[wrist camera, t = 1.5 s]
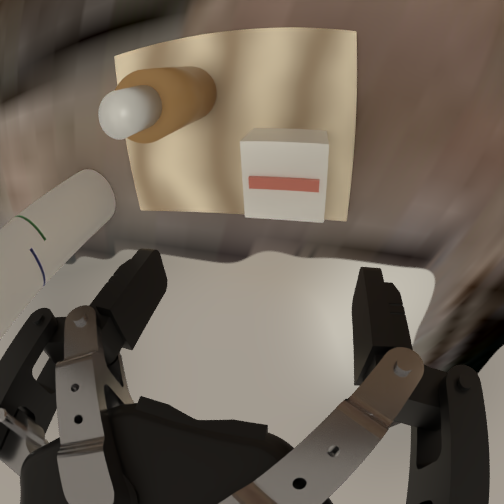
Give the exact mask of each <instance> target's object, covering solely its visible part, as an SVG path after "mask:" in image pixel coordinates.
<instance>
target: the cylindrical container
mask: <svg viewBox="0 0 504 504" xmlns="http://www.w3.org/2000/svg"><path fill="white" fill-rule="evenodd" d="M115 208H116V201H115V196H114V193H113V190H112V188H111V186H110V184H109V183H108V181H107V180H106V179H105V178H104V177H103V176H102V175H101V174H100V173H98V172H96V171H95V170H91V169H84V170H81V171H80V172H78V173H76V174H75V175H73V176H72V177H70V178H68V179H67V180H65V181H64V182H62V183H61V184H59V185H58V186H56V187H55V188H53V189H52V190H50V191H49V192H48V193H46V194H45V195H43V196H42V197H41V198H39V199H38V200H36V201H35V202H34V203H32V204H31V205H30V206H28V207H27V208H26V209H24V210H23V211H22V212H20V213H19V214H18V215H17V216H15V217H14V218H13V219H12V220H10V221H9V222H8V223H7V224H6V225H4V226H3V227H2V228H1V229H0V340H1V338H2V337H3V336H4V334H5V333H6V332H7V330H8V329H9V328H10V326H11V325H12V324H13V323H14V321H15V320H16V319H17V317H18V316H19V315H20V314H21V312H22V311H23V310H24V309H25V307H26V306H27V305H28V304H29V303H30V302H31V300H32V299H33V298H34V297H35V296H36V295H37V293H38V292H39V291H40V290H41V289H42V287H43V286H44V285H45V284H46V283H47V282H48V281H49V280H50V279H51V278H52V276H53V275H54V274H55V273H56V272H57V271H58V270H59V269H60V268H61V267H62V266H63V265H64V264H65V263H66V261H67V260H68V259H69V258H70V257H71V256H72V255H73V254H74V253H75V252H76V251H77V250H78V249H79V248H80V247H81V246H82V245H83V244H84V243H85V242H86V241H87V240H88V239H89V238H90V237H91V236H92V235H94V234H95V233H96V232H97V231H98V230H99V229H100V228H101V227H102V226H103V225H104V224H105V223H106V222H107V221H109V220H110V219H111V217H112V216H113V214H114V212H115Z"/></svg>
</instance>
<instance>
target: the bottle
mask: <svg viewBox="0 0 504 504" xmlns="http://www.w3.org/2000/svg"><path fill="white" fill-rule="evenodd" d="M216 97H217V90H216V85H215V82H214V80H213V79H212V77H211V76H210V75H209V74H208V73H207V72H206V71H204V70H203V69H201V68H198V67H193V66H185V67H165V68H152V69H142V70H137V71H134V72H132V73H130V74H128V75H127V76H125V77H124V78H123V79H122V80H121V81H120V83H119V84H118V86H117V87H116V89H115V91H112V92H110V93H109V94H107V95H106V96H105V97H104V98H103V100H102V102H101V104H100V107H99V122H100V125H101V127H102V129H103V130H104V132H105V133H106V134H107V135H108V136H110V137H111V138H114V139H125V138H128V139H130V140H131V141H134V142H137V143H143V144H146V143H152V142H155V141H158V140H160V139H161V138H163V137H165V136H167V135H169V134H171V133H173V132H175V131H177V130H179V129H181V128H183V127H185V126H187V125H189V124H191V123H193V122H195V121H197V120H199V119H201V118H203V117H205V116H206V115H207V114H208V113H209V112H210V111H211V110H212V108H213V106H214V104H215V102H216Z"/></svg>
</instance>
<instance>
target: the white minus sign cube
mask: <svg viewBox="0 0 504 504" xmlns="http://www.w3.org/2000/svg"><path fill="white" fill-rule="evenodd" d="M240 152H241V167H242V182H243V197H244V212H245V217H246V218H262V219H277V220H292V221H305V222H318V223H324V214H325V202H326V189H327V173H328V155H329V142H328V136H327V131H325V130H310V129H286V128H254V129H252V130H251V131H250V132H249V133H248V134H247V135H246V136H245V137H244V138H243V139H242V140H241V141H240Z"/></svg>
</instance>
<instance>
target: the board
mask: <svg viewBox="0 0 504 504" xmlns="http://www.w3.org/2000/svg"><path fill="white" fill-rule="evenodd" d="M114 57H115V67H116V77H117V85H118V84H119V83H120V81H121V80H122V79H123V78H124V77H125V76H127V75H128V74H130V73H132V72H134V71H137V70H142V69H152V68H165V67H185V66H193V67H198V68H201V69H203V70H204V71H206V72H207V73H208V74H209V75H210V76H211V77H212V79H213V80H214V82H215V85H216V90H217V97H216V102H215V104H214V106H213V108H212V110H211V111H210V112H209V113H208V114H207V115H206V116H205V117H203V118H201V119H199V120H197V121H195V122H193V123H191V124H189V125H187V126H185V127H183V128H181V129H179V130H177V131H175V132H173V133H171V134H169V135H167V136H165V137H163V138H161V139H160V140H158V141H155V142H152V143H146V144H143V143H137V142H134V141H131V140H130V139H128V138H126V144H127V149H128V154H129V159H130V164H131V169H132V174H133V179H134V183H135V188H136V192H137V196H138V200H139V205H140V209H141V210H151V211H185V212H210V213H232V214H245V212H244V197H243V182H242V167H241V152H240V141H241V140H242V139H243V138H244V137H245V136H246V135H247V134H248V133H249V132H250V131H251V130H252V129H254V128H286V129H310V130H325V131H327V136H328V142H329V155H328V173H327V189H326V202H325V214H324V220H334V221H347V213H348V205H349V197H350V187H351V178H352V167H353V155H354V141H355V125H356V100H357V40H356V31H348V30H338V29H324V28H258V29H244V30H234V31H225V32H217V33H210V34H203V35H197V36H192V37H186V38H181V39H176V40H172V41H167V42H163V43H159V44H155V45H151V46H147V47H143V48H140V49H136V50H133V51H129V52H126V53H123V54H120V55H117V56H114Z"/></svg>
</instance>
